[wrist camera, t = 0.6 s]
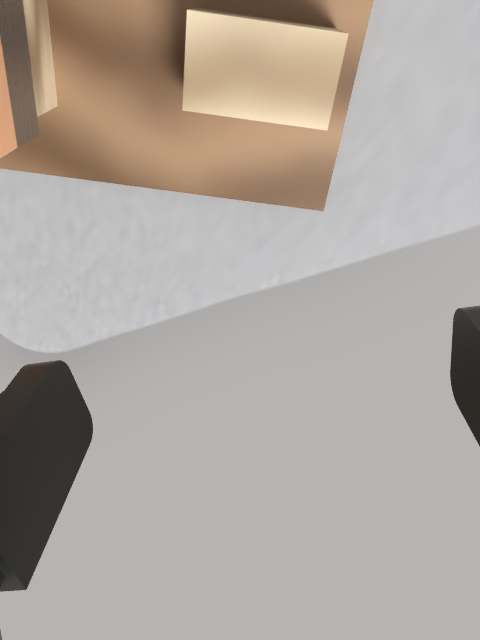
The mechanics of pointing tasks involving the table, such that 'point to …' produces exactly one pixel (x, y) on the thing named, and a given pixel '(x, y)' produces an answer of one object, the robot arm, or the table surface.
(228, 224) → the table surface
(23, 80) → the housing base
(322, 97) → the twin stand
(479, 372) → the robot arm
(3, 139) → the cover
